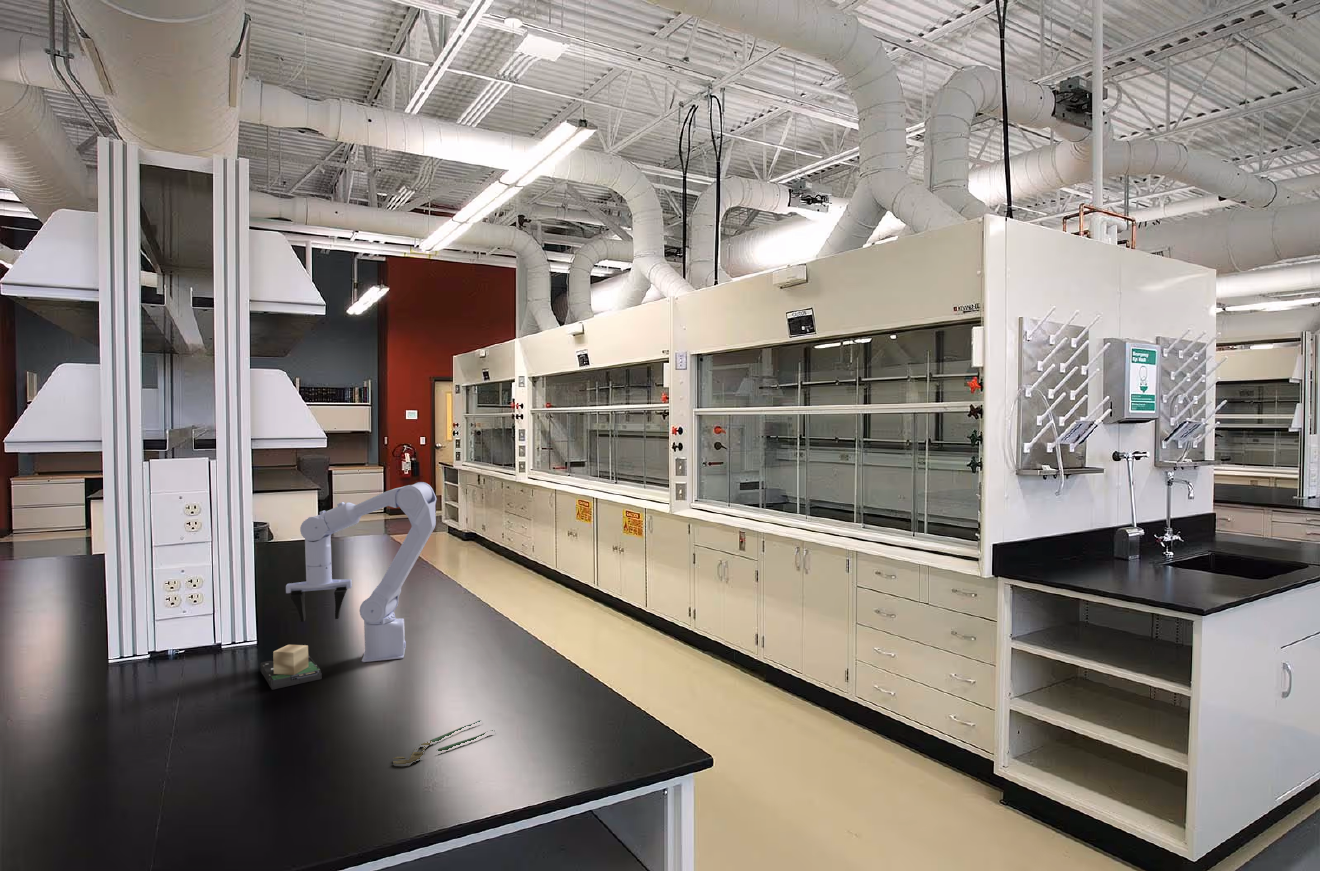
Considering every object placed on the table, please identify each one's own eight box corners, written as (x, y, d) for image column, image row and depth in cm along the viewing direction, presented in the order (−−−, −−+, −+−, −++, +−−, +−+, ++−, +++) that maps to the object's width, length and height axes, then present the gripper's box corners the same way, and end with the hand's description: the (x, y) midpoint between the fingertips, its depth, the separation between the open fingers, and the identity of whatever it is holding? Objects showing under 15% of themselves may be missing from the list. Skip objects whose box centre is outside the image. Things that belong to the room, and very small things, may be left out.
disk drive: (259, 674, 168) (272, 692, 156) (259, 662, 168) (271, 679, 156) (307, 664, 175) (323, 681, 163) (307, 652, 174) (322, 668, 163)
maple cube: (308, 667, 165) (308, 645, 165) (293, 674, 160) (293, 652, 160) (288, 665, 166) (288, 644, 165) (273, 673, 161) (273, 651, 160)
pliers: (481, 725, 139) (481, 718, 139) (500, 734, 134) (500, 727, 134) (383, 761, 125) (382, 753, 125) (400, 772, 120) (400, 765, 120)
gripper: (352, 559, 182) (354, 612, 183) (289, 563, 178) (291, 617, 179) (349, 564, 175) (350, 619, 176) (283, 569, 171) (285, 625, 172)
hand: (320, 619), depth 177 cm, fingers open, 7 cm apart
